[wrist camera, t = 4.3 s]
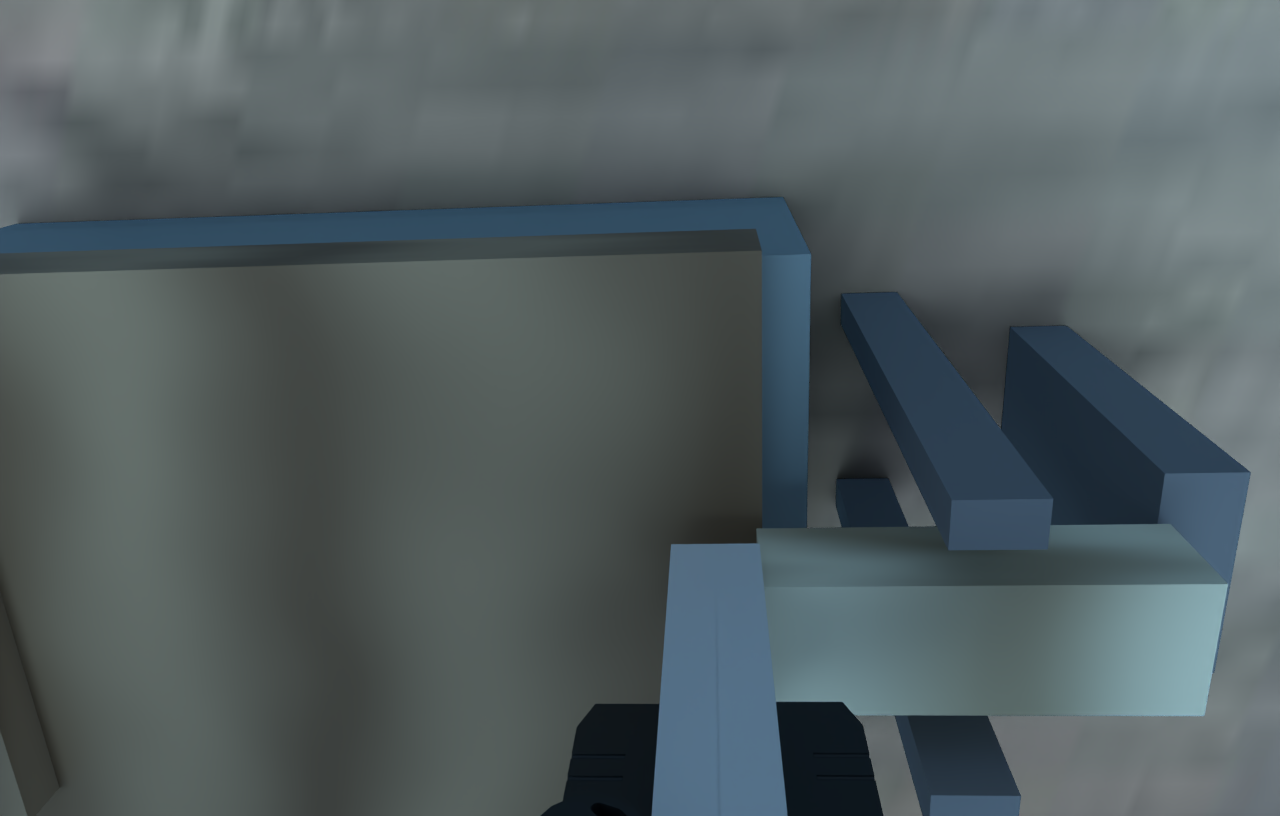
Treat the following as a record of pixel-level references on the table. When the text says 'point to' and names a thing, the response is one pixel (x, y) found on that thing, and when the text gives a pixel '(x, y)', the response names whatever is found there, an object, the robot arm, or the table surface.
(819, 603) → the rectangular block
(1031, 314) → the table surface
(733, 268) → the lid
